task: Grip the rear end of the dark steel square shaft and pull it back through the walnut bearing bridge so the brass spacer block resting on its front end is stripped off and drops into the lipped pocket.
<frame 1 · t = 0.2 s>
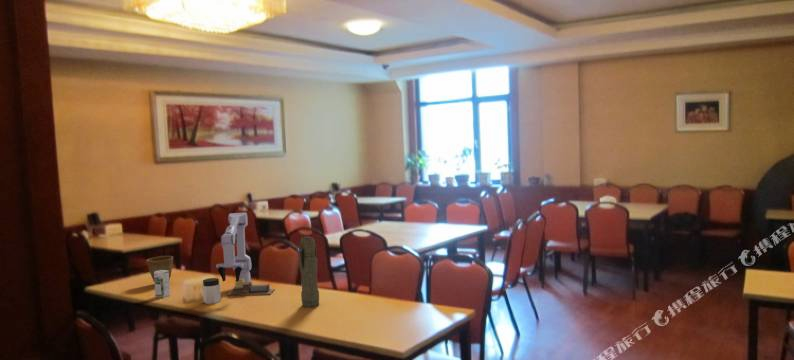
hand: (230, 280, 315), 10 cm above the table, tool pointing down, fingers open, 7 cm apart
syrup box: (162, 296, 328), on the table
jar: (212, 302, 312), on the table
thermos: (310, 305, 298), on the table
bearing block: (249, 293, 326), on the table
spacer: (240, 286, 326), point 4 cm above the table, touching shaft
shaft: (252, 288, 326), point 3 cm above the table, slide at 0.0 cm, touching spacer
plant pot: (161, 284, 357), on the table
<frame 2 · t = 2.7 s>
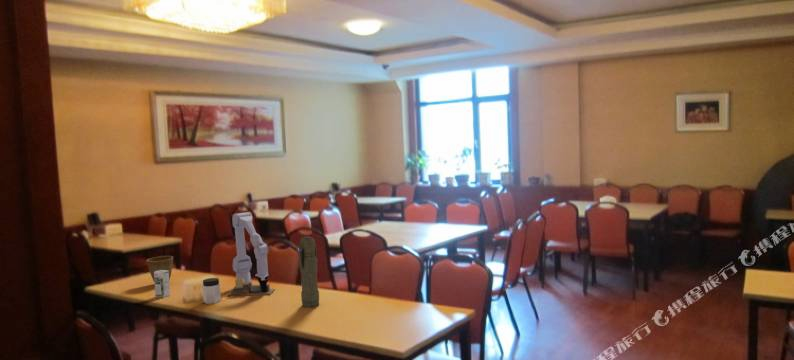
hand: (263, 290, 326), 1 cm above the table, tool pointing down, fingers open, 4 cm apart
shaft: (251, 288, 326), point 3 cm above the table, slide at 0.0 cm, touching gripper, spacer
everything else where it was.
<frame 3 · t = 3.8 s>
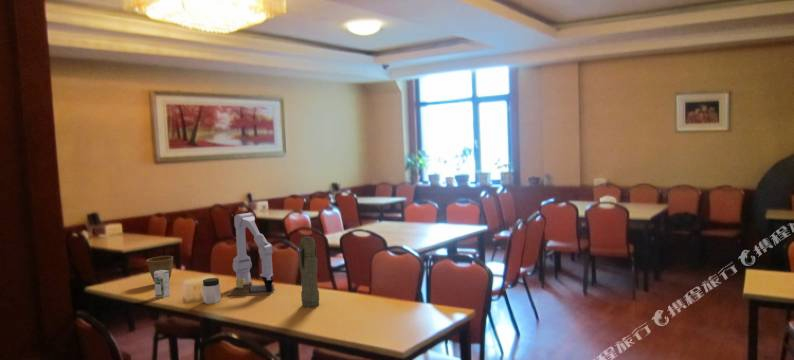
hand: (268, 290, 326), 1 cm above the table, tool pointing down, fingers closed on shaft, 4 cm apart
spacer: (241, 286, 326), point 4 cm above the table, touching bearing block
shaft: (256, 288, 326), point 3 cm above the table, slide at 2.4 cm, touching gripper
everything else where it was.
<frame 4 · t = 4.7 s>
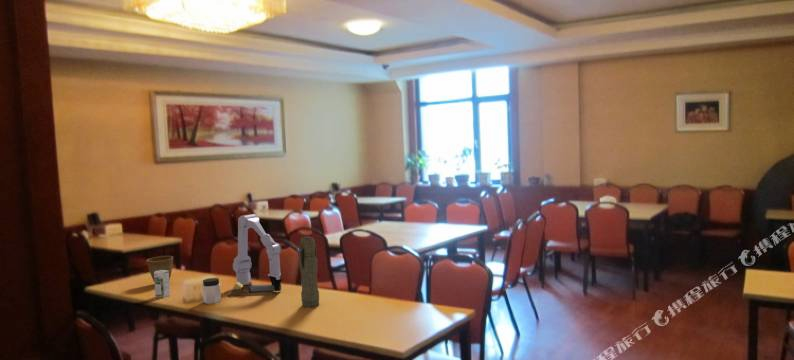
hand: (276, 289, 326), 1 cm above the table, tool pointing down, fingers closed on shaft, 5 cm apart
spacer: (240, 289, 326), point 2 cm above the table, tilted 53°, touching bearing block
shaft: (263, 288, 326), point 3 cm above the table, slide at 6.6 cm, touching gripper
everything else where it was.
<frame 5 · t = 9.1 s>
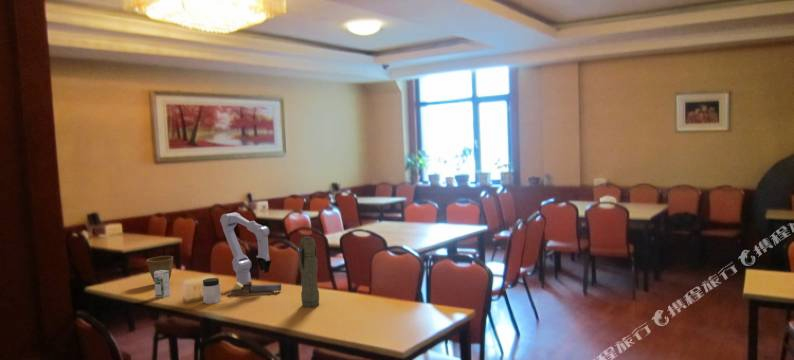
hand: (264, 271, 334), 10 cm above the table, tool pointing down, fingers open, 7 cm apart
shaft: (263, 288, 326), point 3 cm above the table, slide at 6.6 cm
everything else where it was.
at the end: shaft slide at 6.6 cm; spacer point 2.4 cm above the table; spacer inside the target area on the bearing block (1.0 cm from its centre), point 2.4 cm above the bearing block's base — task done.
